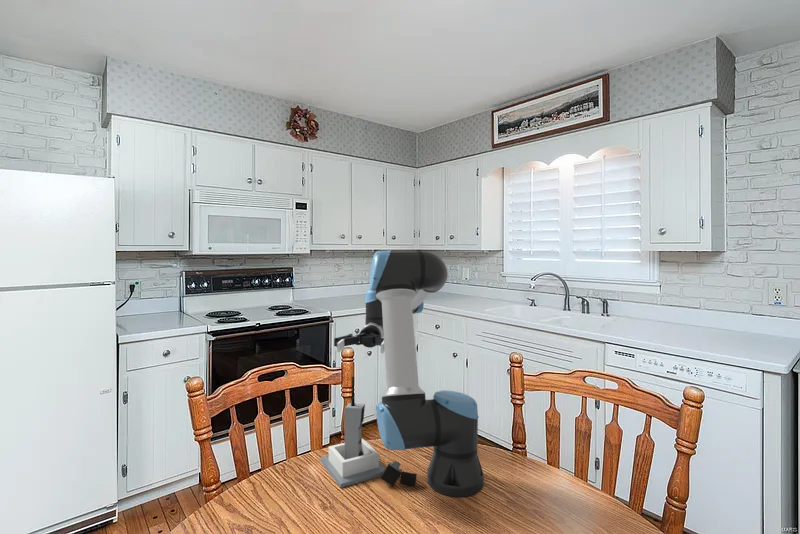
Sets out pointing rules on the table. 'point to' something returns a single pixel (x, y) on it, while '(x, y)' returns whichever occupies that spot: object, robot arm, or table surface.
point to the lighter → (398, 475)
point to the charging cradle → (352, 465)
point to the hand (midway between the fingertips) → (360, 348)
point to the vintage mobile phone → (353, 427)
